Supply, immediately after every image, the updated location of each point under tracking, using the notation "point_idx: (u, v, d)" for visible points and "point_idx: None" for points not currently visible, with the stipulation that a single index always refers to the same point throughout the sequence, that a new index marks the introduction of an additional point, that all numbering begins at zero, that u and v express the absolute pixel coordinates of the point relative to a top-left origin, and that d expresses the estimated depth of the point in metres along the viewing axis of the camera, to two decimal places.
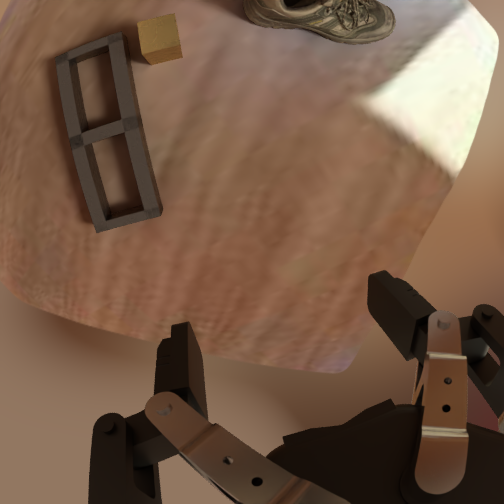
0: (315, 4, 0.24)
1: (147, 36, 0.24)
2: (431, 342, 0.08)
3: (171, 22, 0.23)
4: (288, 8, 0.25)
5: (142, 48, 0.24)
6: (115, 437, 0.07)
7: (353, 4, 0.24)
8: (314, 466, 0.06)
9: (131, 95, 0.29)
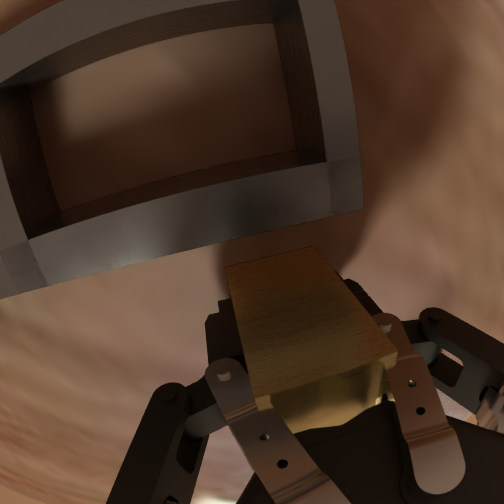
0: None
1: (330, 394, 0.07)
2: None
3: None
4: None
5: (281, 395, 0.07)
6: (177, 405, 0.08)
7: None
8: None
9: (106, 267, 0.09)
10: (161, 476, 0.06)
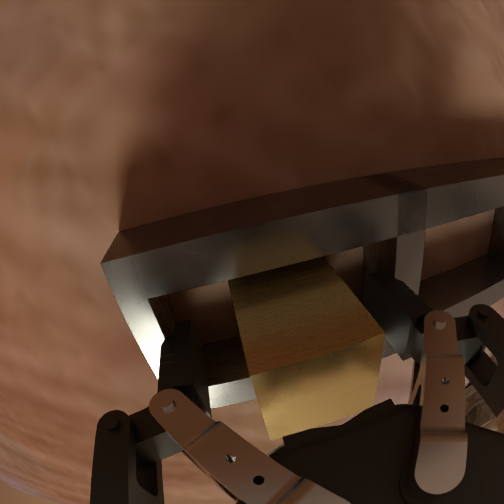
0: None
1: (321, 374, 0.08)
2: (427, 342, 0.08)
3: (347, 410, 0.09)
4: None
5: (274, 373, 0.08)
6: (119, 434, 0.07)
7: None
8: (314, 466, 0.06)
9: None
10: (130, 502, 0.05)
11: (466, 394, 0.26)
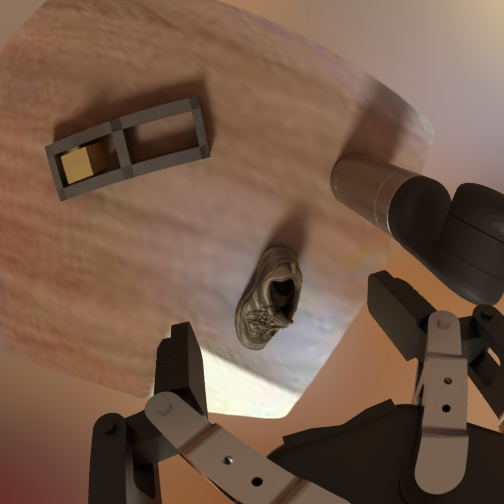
0: (270, 300, 0.48)
1: (74, 157, 0.34)
2: (431, 342, 0.08)
3: (85, 174, 0.35)
4: (271, 282, 0.47)
5: (64, 156, 0.33)
6: (115, 437, 0.07)
7: (266, 326, 0.50)
8: (314, 466, 0.06)
9: (150, 171, 0.40)
10: None
11: (263, 257, 0.52)
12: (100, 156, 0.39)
